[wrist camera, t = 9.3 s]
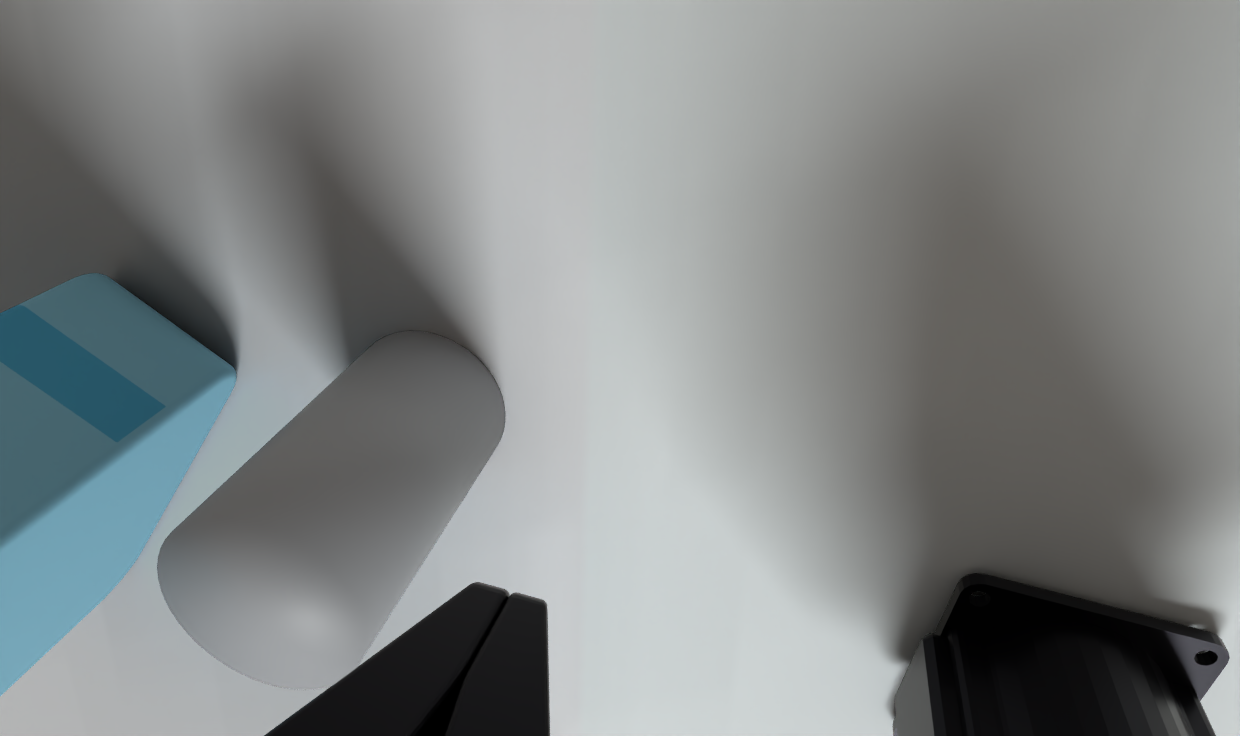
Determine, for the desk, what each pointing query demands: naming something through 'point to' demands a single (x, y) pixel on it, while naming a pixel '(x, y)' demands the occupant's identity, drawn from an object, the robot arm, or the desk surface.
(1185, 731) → the robot arm
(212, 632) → the grey cylinder
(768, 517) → the desk surface
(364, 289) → the desk surface
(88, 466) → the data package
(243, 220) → the desk surface
